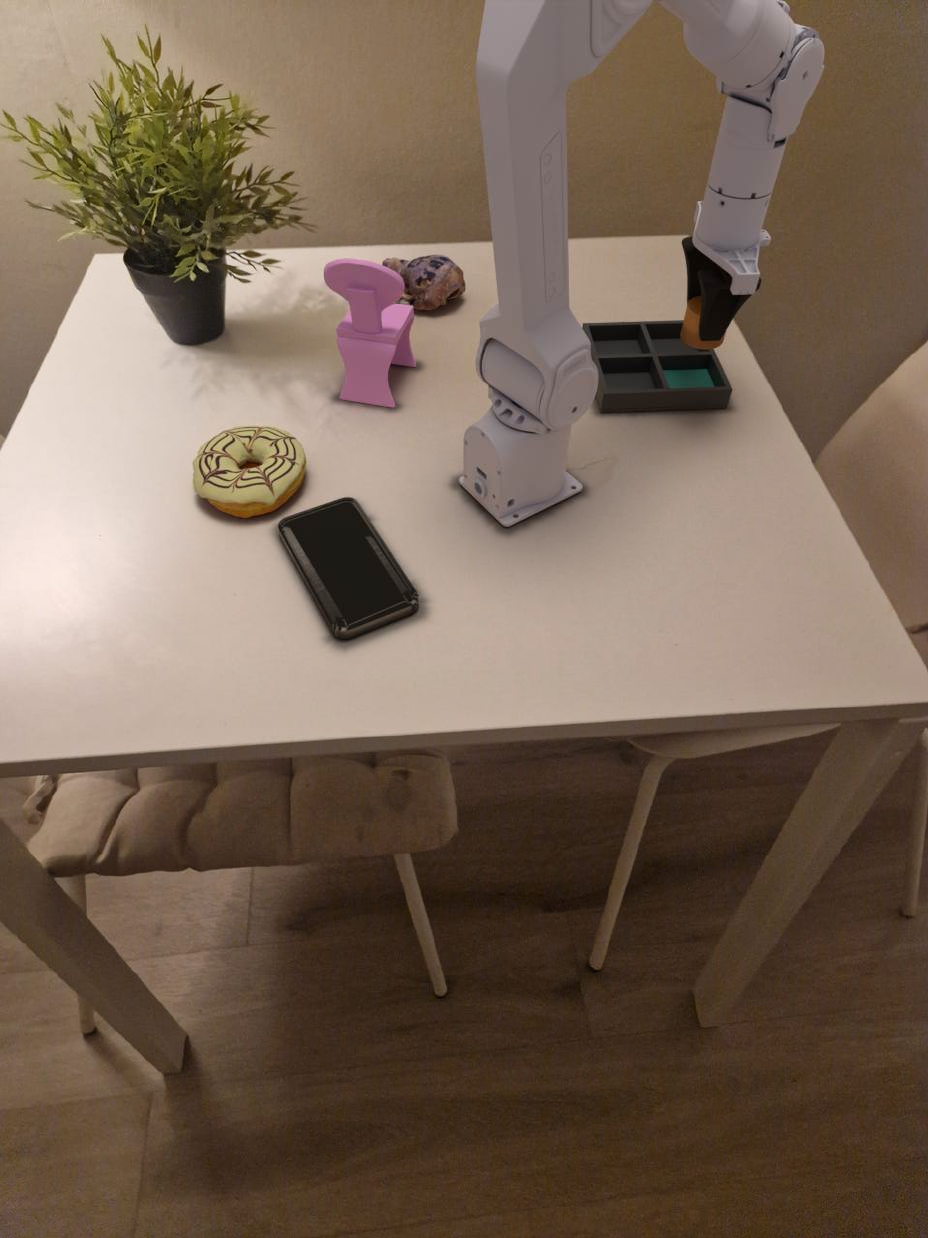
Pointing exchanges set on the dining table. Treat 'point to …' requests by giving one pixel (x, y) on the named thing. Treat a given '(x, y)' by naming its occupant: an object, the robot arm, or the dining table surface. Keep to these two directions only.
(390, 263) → the toy tortoise
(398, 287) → the toy chair
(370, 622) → the phone
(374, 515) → the dining table surface
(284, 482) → the decorated donut
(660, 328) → the grid
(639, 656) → the dining table surface
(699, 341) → the orange cylinder
